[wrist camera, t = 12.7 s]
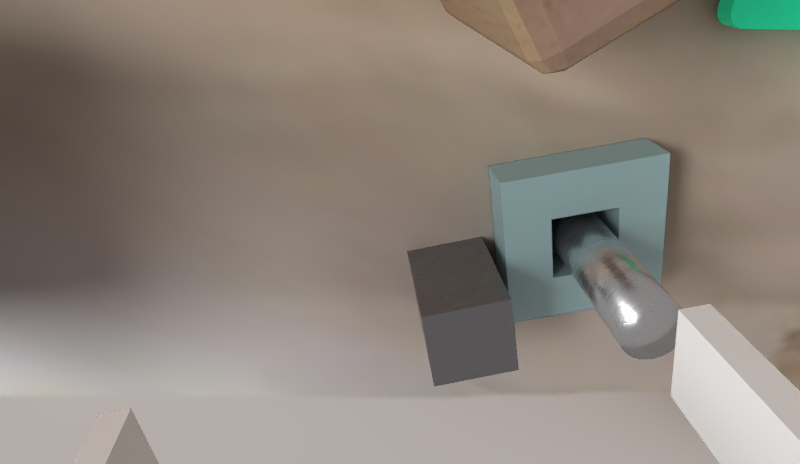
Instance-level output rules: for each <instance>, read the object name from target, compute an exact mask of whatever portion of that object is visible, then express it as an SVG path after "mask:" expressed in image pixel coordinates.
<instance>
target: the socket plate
mask: <svg viewBox="0 0 800 464" xmlns="http://www.w3.org/2000/svg"><path fill="white" fill-rule="evenodd" d="M670 154H671V153H670V152H668V151H666V150H665V149H663V148H662V147H660V146H658V145H657V144H655V143H654V142H652V141H651V140H649V139H647V138H643V139H638V140H632V141H626V142H621V143H615V144H609V145H604V146H598V147H592V148H587V149H581V150H575V151H570V152H564V153H559V154H553V155H547V156H542V157H536V158H530V159H525V160H519V161H513V162H508V163H502V164H496V165H491V166H488V167H489V178H490V190H491V202H492V213H493V225H494V237H495V248H496V260H497V270H498V272H499V274H500V276H501V278H502V280H503V283H504V285H505V287H506V289H507V291H508V293H509V295H510V297H511V299H512V309H513V319H514V322H520V321H525V320H531V319H537V318H542V317H548V316H553V315H559V314H564V313H570V312H575V311H581V310H587V309H592V308H594V306H593V305H592V303H591V302H590V300H589V299H588V297H587V296H586V294H585V293H584V291H583V290H582V289H581V287H580V286H579V284H578V283H577V281H576V280H575V278H574V277H573V275H572V274H571V272H570V271H569V269H568V268H567V266H566V265H565V264H564V262H563V261H562V259H561V258H560V256H559V255H558V253H557V252H556V250H555V249H554V247H553V246H552V225H551V219H557V218H563V217H568V216H574V215H579V214H585V213H591V212H594V213H595V214H596V215H597V217H598V218H599V219H600V220H601V221H602V222H603V223H604V224H605V225H606V226H607V227H608V228H609V230H610V231H611V232H612V233H613V234H614V235H615V236H616V237H617V238H618V239H619V240H620V241H621V243H622V244H623V245H624V246H625V247H626V248H627V249H628V250H629V251H630V252H631V253H632V254H633V256H634V257H635V258H636V259H637V260H638V261H639V262H640V263H641V264H642V265H643V266H644V267H645V269H646V270H647V271H648V272H649V273H650V274H651V275H652V276H653V277H654V278H655V279H656V280H657V282H658V283H659V284H660V285H661V280H662V266H663V252H664V238H665V224H666V210H667V196H668V182H669V168H670Z"/></svg>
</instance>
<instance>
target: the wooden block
mask: <svg viewBox="0 0 800 464" xmlns="http://www.w3.org/2000/svg"><path fill="white" fill-rule="evenodd" d="M677 1H678V0H441V2H442V4H443V6H444V8H445V9H446V11H447V12H448V13H450V14H451V15H452V16H453V17H455V18H456V19H458V20H459V21H461V22H462V23H464V24H465V25H467V26H469V27H470V28H472V29H473V30H475V31H476V32H478V33H480V34H481V35H483V36H484V37H486V38H487V39H489V40H491V41H492V42H494V43H495V44H497V45H499V46H500V47H502V48H503V49H505V50H506V51H508V52H510V53H511V54H513V55H514V56H516V57H517V58H519V59H521V60H522V61H524V62H525V63H527V64H528V65H530V66H532V67H533V68H535V69H536V70H538V71H539V72H541V73H543V74H549V73H554V72H559V71H565V70H567V69H568V68H570V67H571V66H573V65H575V64H576V63H578V62H579V61H581V60H583V59H584V58H586V57H588V56H589V55H591V54H592V53H594V52H596V51H597V50H599V49H600V48H602V47H604V46H605V45H607V44H609V43H610V42H612V41H613V40H615V39H617V38H618V37H620V36H622V35H623V34H625V33H626V32H628V31H630V30H631V29H633V28H634V27H636V26H638V25H639V24H641V23H643V22H644V21H646V20H647V19H649V18H651V17H652V16H654V15H655V14H657V13H659V12H660V11H662V10H664V9H665V8H667V7H668V6H670V5H672V4H673V3H675V2H677Z"/></svg>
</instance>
